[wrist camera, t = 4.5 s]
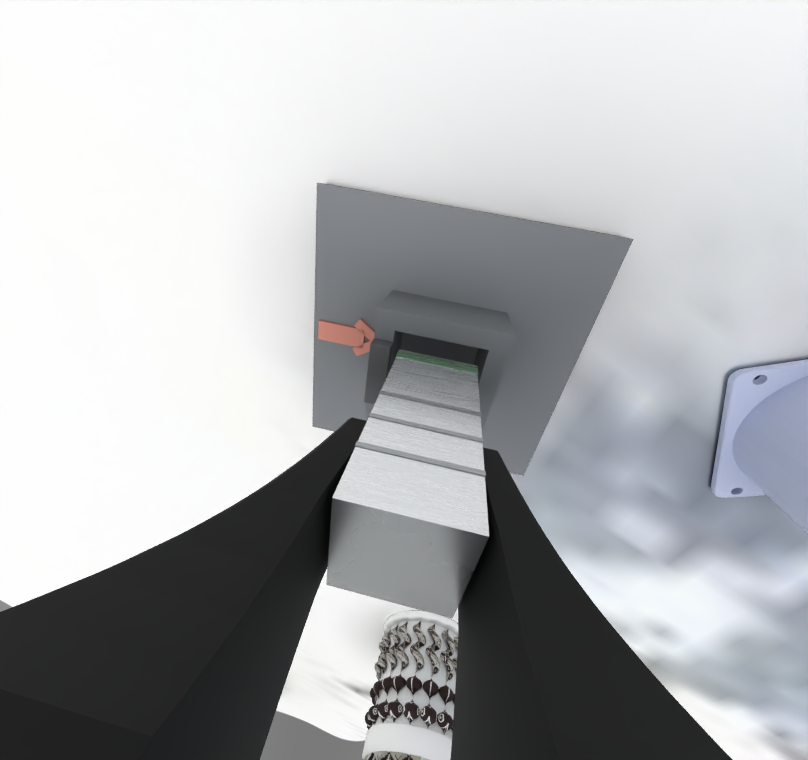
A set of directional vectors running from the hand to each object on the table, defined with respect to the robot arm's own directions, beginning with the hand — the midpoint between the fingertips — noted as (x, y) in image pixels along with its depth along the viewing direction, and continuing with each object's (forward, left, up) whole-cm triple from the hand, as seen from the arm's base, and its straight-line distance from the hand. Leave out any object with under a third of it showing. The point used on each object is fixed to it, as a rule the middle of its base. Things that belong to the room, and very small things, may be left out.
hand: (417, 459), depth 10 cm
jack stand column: (0, 0, -4) cm, 4 cm away
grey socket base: (0, 0, -9) cm, 9 cm away
